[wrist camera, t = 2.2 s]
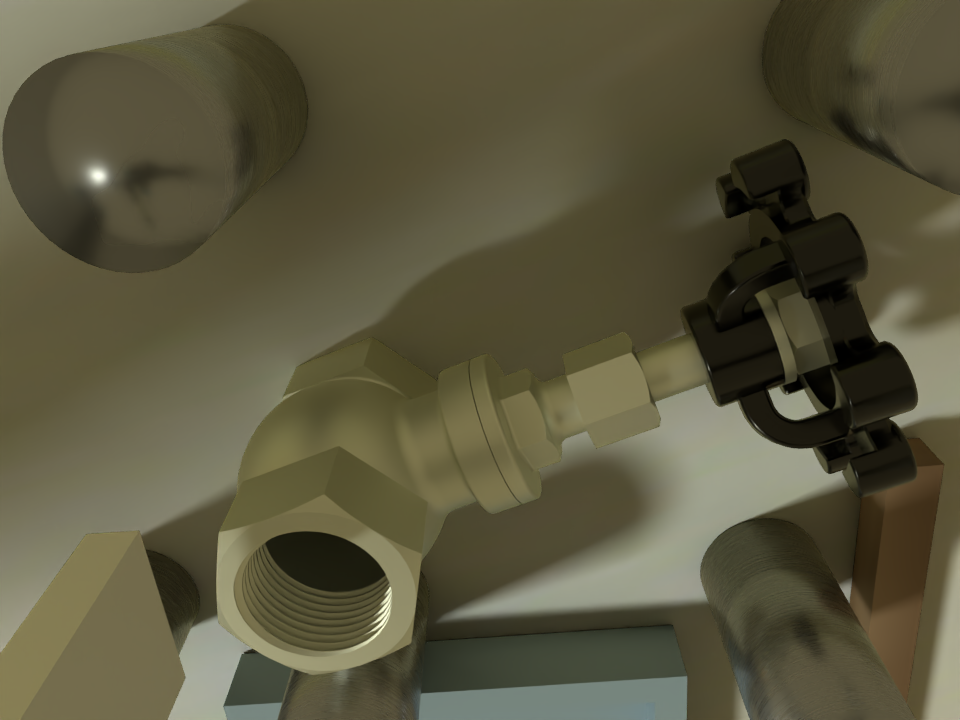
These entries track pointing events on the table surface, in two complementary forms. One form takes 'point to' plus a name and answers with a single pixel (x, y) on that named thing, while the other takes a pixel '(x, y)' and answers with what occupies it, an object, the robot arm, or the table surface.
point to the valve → (543, 428)
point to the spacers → (275, 138)
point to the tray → (517, 678)
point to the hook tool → (896, 563)
